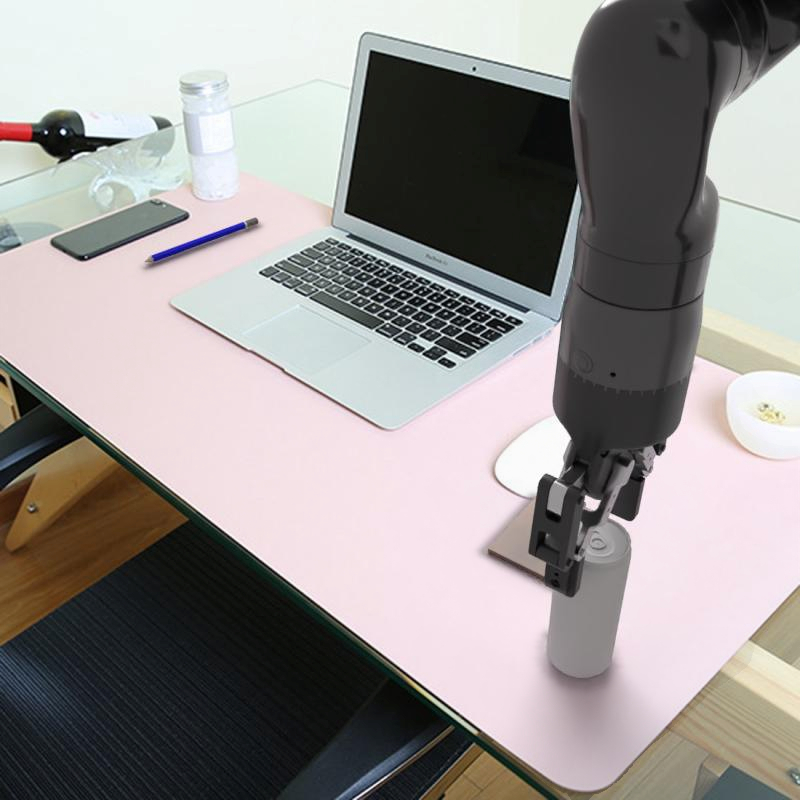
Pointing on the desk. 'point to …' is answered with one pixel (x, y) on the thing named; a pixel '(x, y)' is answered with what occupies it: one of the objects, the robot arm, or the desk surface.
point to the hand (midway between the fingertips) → (592, 549)
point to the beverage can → (591, 606)
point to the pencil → (202, 240)
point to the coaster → (519, 543)
